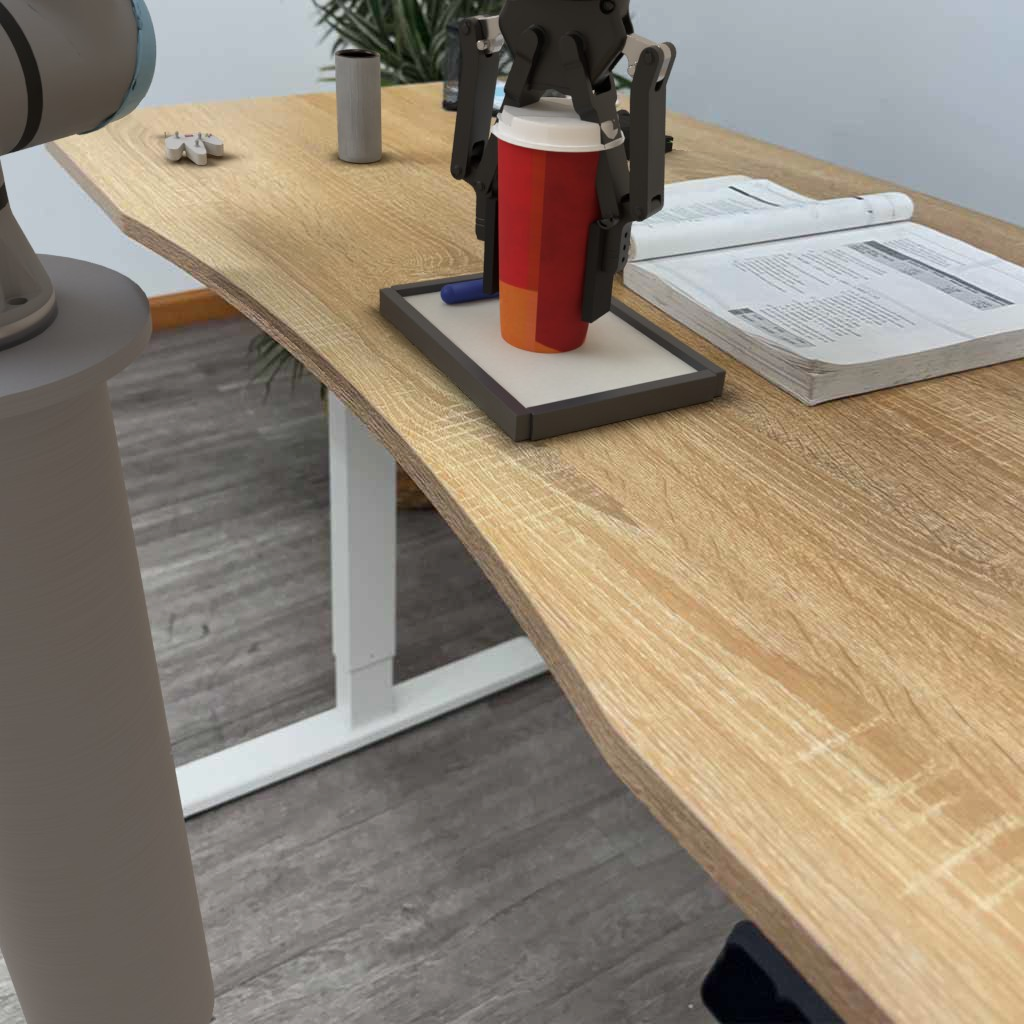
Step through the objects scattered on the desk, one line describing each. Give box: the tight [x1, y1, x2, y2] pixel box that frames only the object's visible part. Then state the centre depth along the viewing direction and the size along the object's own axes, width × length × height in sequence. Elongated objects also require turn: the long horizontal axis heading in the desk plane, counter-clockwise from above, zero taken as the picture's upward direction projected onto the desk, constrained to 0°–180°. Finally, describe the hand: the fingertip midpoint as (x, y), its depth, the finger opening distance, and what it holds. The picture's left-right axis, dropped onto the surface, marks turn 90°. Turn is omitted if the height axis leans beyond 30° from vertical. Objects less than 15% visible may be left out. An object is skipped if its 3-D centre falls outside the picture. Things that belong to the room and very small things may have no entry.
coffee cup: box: [490, 96, 625, 353], centre depth 69 cm, size 8×8×15 cm
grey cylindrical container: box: [334, 48, 383, 164], centre depth 109 cm, size 4×4×10 cm
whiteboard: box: [378, 272, 727, 443], centre depth 73 cm, size 22×16×3 cm
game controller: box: [164, 130, 225, 166], centre depth 109 cm, size 6×12×3 cm, turn 51°
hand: (545, 301), depth 72 cm, fingers closed on coffee cup, 7 cm apart
